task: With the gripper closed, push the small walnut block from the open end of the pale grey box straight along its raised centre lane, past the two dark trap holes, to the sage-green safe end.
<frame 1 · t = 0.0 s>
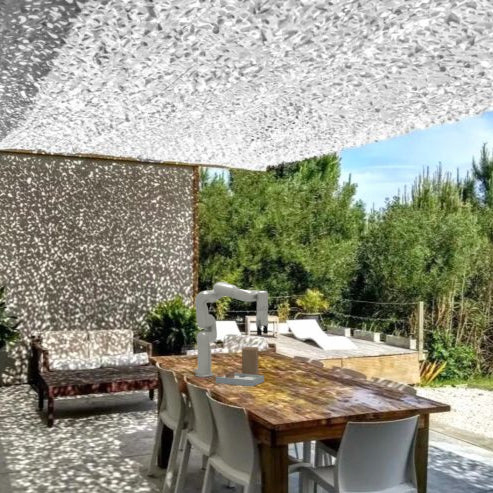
hand: (262, 334, 427), 31 cm above the table, tool pointing down, fingers open, 9 cm apart
walnut block: (229, 377, 424), point 2 cm above the table, touching trap box
block: (250, 376, 443), on the table
trap box: (239, 382, 421), on the table
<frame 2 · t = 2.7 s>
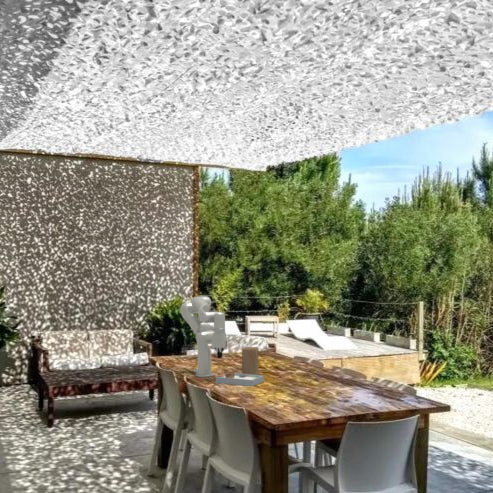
hand: (219, 357, 428), 15 cm above the table, tool pointing down, fingers closed
nothing on the table moved.
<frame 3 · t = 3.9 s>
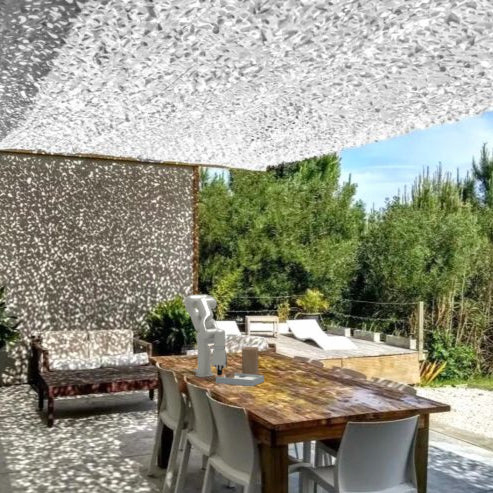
hand: (219, 375, 428), 4 cm above the table, tool pointing down, fingers closed
nothing on the table moved.
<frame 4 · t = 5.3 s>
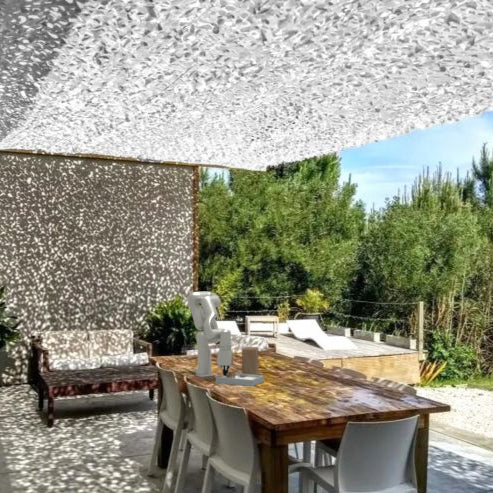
hand: (225, 375, 426), 4 cm above the table, tool pointing down, fingers closed
walnut block: (230, 377, 424), point 3 cm above the table, touching gripper
everything else where it was.
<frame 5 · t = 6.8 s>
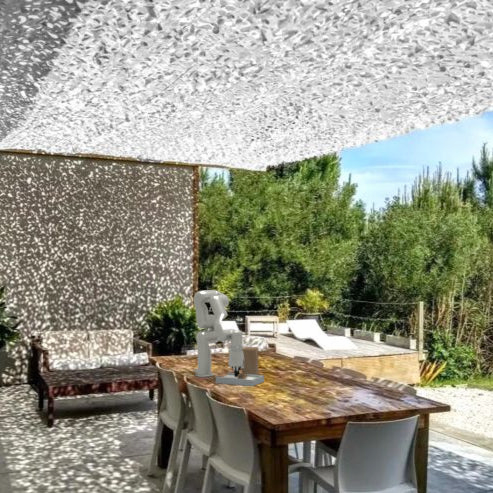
hand: (236, 376, 422), 4 cm above the table, tool pointing down, fingers closed
walnut block: (242, 378, 421), point 3 cm above the table, touching gripper
everything else where it was.
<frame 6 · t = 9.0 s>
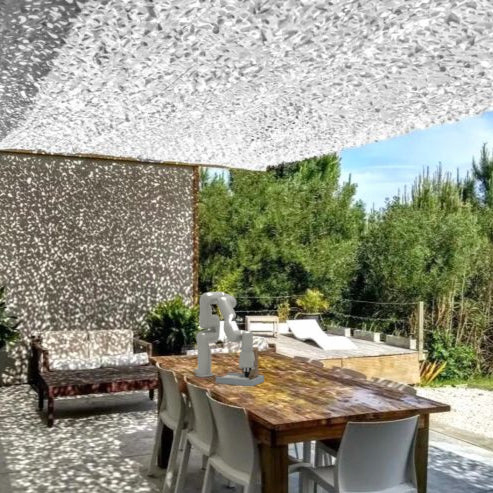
hand: (247, 377, 419), 4 cm above the table, tool pointing down, fingers closed
walnut block: (253, 379, 417), point 2 cm above the table, touching gripper, trap box
everything else where it was.
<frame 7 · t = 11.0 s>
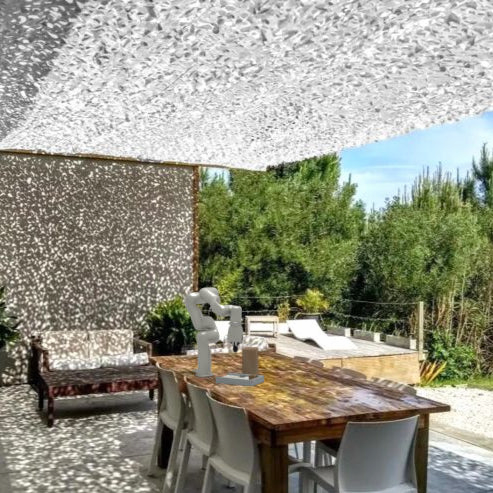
hand: (235, 351, 424), 20 cm above the table, tool pointing down, fingers closed
walnut block: (253, 379, 417), point 2 cm above the table, touching trap box
everything else where it was.
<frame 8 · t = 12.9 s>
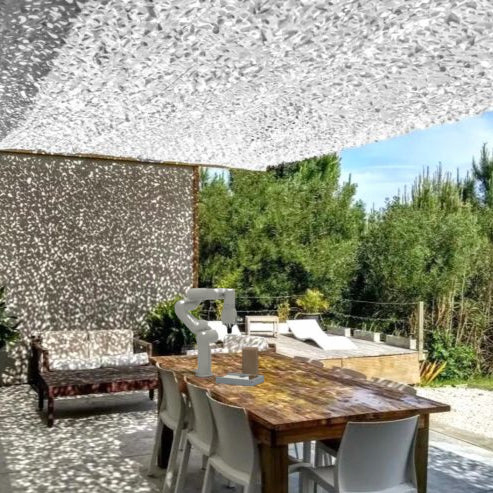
hand: (229, 333, 433), 31 cm above the table, tool pointing down, fingers closed
nothing on the table moved.
at the end: walnut block 0.6 cm from the target spot on the trap box, point 2.5 cm above the trap box's base; walnut block tilted 0° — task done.
